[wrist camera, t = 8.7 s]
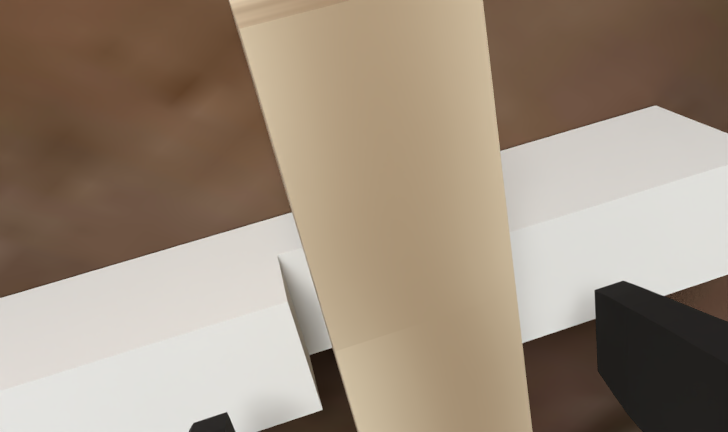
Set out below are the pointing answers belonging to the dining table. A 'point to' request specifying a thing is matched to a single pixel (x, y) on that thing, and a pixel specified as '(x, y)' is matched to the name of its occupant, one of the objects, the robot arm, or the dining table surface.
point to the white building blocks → (300, 303)
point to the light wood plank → (397, 202)
